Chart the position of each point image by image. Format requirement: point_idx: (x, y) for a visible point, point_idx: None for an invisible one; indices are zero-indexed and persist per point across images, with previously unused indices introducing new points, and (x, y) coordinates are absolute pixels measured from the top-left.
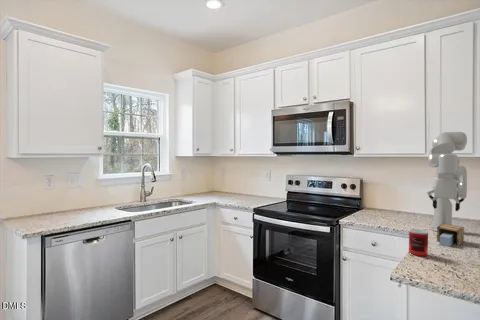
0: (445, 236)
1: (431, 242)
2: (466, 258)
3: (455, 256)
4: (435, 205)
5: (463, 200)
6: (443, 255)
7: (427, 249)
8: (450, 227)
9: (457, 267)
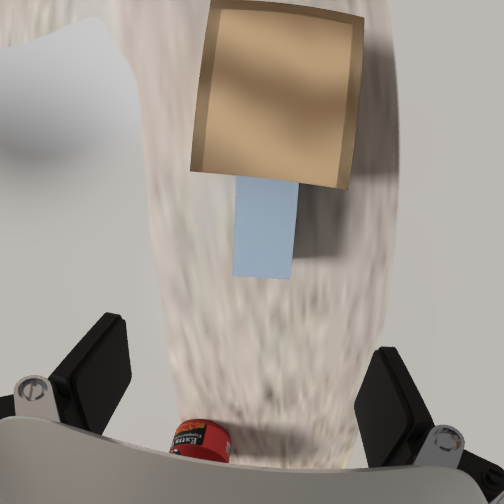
0: (263, 256)
1: (194, 219)
2: (345, 391)
3: (311, 393)
4: (117, 398)
5: (485, 477)
6: (273, 406)
7: (229, 456)
8: (281, 109)
9: (311, 468)
